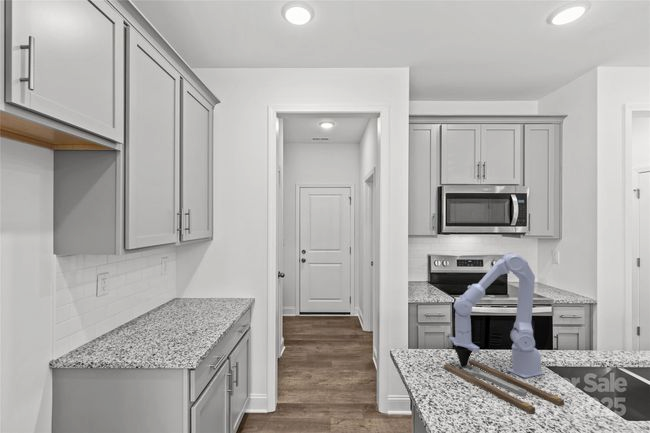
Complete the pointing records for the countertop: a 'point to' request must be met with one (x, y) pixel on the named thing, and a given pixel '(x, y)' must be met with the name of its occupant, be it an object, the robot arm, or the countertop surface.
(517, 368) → the robot arm
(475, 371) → the adjustable wrench
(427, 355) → the countertop surface
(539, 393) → the guide channel
